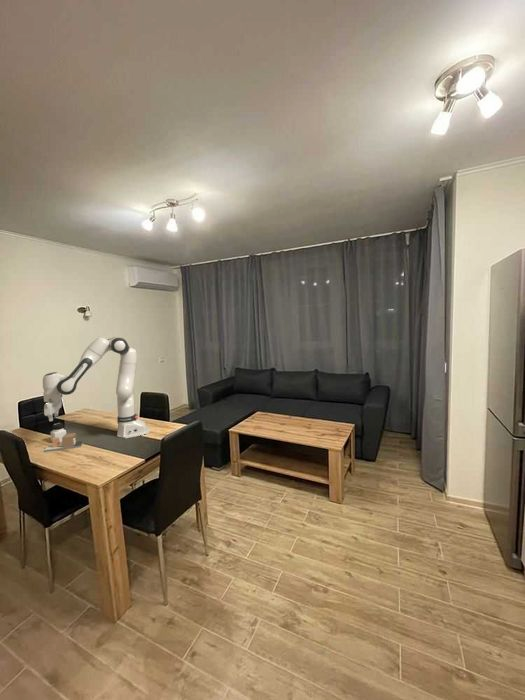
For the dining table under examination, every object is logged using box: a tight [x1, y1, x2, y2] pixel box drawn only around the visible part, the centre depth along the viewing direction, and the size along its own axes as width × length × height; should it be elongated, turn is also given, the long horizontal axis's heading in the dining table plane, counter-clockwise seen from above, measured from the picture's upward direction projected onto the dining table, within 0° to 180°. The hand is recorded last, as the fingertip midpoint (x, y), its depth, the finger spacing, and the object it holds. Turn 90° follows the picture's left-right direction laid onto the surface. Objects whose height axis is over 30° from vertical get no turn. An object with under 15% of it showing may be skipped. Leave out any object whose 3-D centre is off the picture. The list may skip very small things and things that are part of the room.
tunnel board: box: [43, 432, 84, 453], centre depth 190 cm, size 20×8×8 cm, turn 109°
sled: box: [51, 437, 77, 447], centre depth 190 cm, size 12×4×5 cm, turn 109°
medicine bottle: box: [50, 422, 67, 443], centre depth 200 cm, size 7×7×12 cm
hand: (53, 418), depth 187 cm, fingers open, 8 cm apart
